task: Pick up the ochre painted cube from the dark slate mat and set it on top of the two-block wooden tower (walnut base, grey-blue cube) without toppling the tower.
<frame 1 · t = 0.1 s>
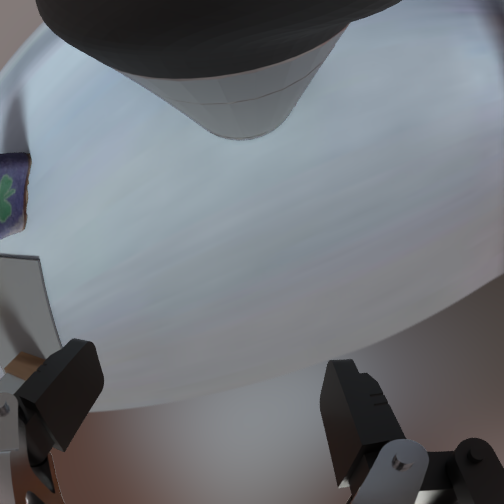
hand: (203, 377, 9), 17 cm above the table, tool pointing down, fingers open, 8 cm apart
tower mid: (23, 390, 26), point 5 cm above the table, touching tower base
slate mat: (16, 333, 29), on the table
flask: (22, 191, 24), on the table
tower base: (40, 371, 31), resting on slate mat, touching tower mid
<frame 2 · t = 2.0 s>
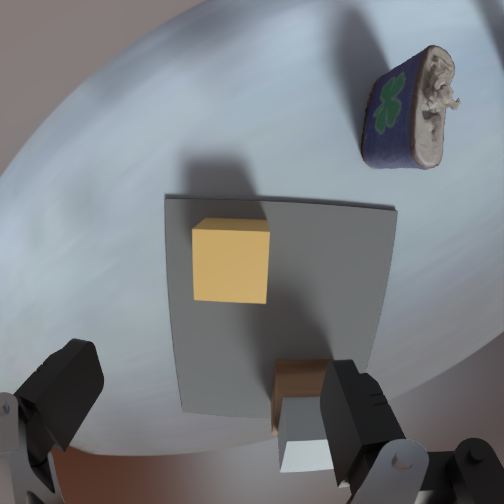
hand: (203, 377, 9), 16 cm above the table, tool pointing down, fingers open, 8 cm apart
tower mid: (307, 415, 22), point 5 cm above the table, touching tower base
slate mat: (277, 331, 26), on the table
flask: (379, 119, 21), on the table
tower base: (301, 381, 27), resting on slate mat, touching tower mid
ochre block: (235, 248, 24), resting on slate mat
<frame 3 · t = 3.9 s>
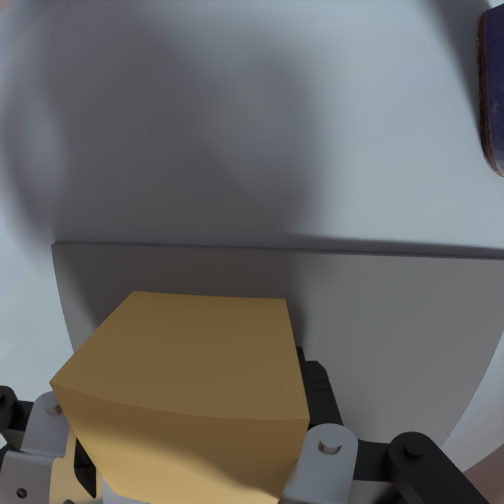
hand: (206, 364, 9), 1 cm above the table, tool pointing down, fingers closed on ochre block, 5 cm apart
slate mat: (293, 465, 12), on the table
flask: (495, 82, 7), on the table
ochre block: (208, 359, 10), resting on slate mat, touching gripper
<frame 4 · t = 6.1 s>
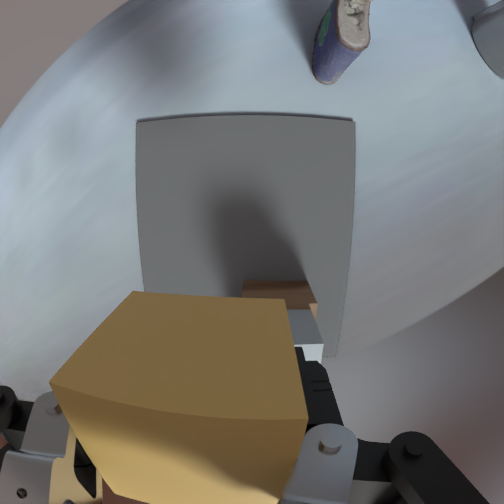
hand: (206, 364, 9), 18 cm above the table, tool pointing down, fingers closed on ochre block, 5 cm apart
tower mid: (277, 336, 23), point 5 cm above the table, touching tower base
slate mat: (243, 248, 26), on the table
flask: (328, 46, 21), on the table
tower base: (274, 309, 27), resting on slate mat, touching tower mid
ochre block: (207, 359, 10), point 17 cm above the table, touching gripper
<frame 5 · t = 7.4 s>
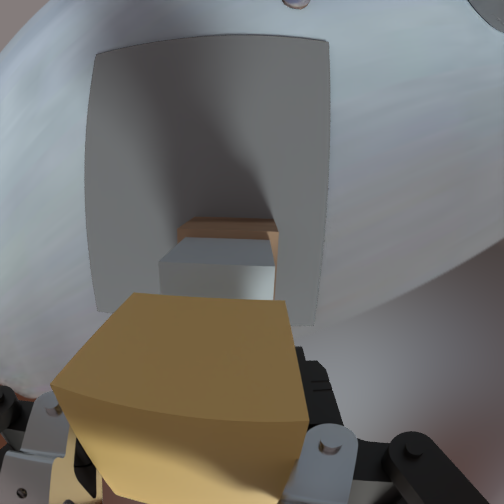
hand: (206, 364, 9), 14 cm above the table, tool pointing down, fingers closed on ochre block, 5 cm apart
tower mid: (226, 278, 17), point 5 cm above the table, touching tower base
slate mat: (196, 177, 21), on the table
tower base: (232, 256, 22), resting on slate mat, touching tower mid
ochre block: (208, 360, 10), point 14 cm above the table, touching gripper
when the fingers open (12 cm above the table, at t = 8.3 s): ochre block drops 1 cm, resting on tower mid.
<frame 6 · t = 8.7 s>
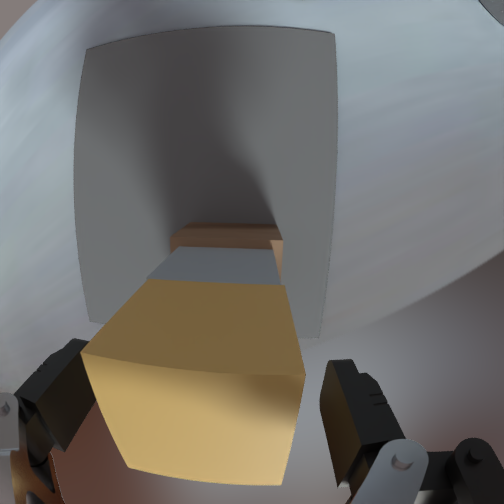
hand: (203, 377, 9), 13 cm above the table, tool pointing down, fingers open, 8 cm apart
tower mid: (225, 292, 16), point 5 cm above the table, touching ochre block, tower base
slate mat: (191, 179, 19), on the table
tower base: (232, 264, 20), resting on slate mat, touching tower mid
ochre block: (215, 341, 11), point 10 cm above the table, touching tower mid
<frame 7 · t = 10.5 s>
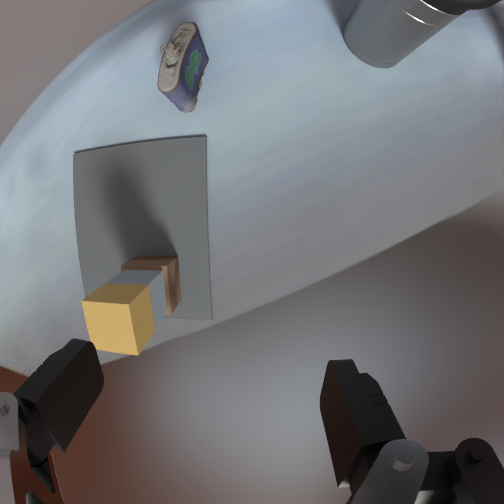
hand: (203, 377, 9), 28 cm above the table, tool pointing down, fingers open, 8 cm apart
tower mid: (145, 290, 32), point 5 cm above the table, touching ochre block, tower base
slate mat: (135, 233, 36), on the table
flask: (193, 81, 32), on the table
tower base: (158, 277, 37), resting on slate mat, touching tower mid
ochre block: (130, 306, 27), point 10 cm above the table, touching tower mid
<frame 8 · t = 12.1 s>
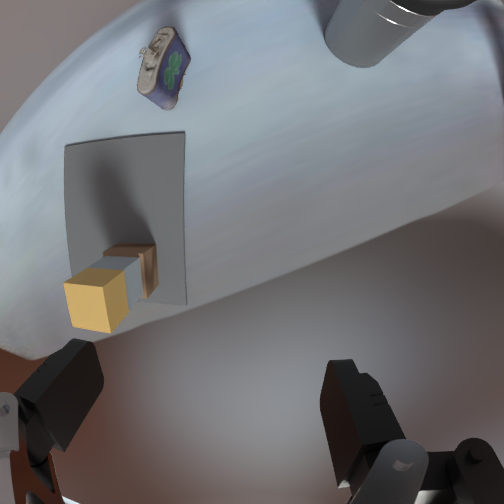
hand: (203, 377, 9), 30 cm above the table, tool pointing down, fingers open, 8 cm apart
tower mid: (124, 275, 34), point 5 cm above the table, touching ochre block, tower base
slate mat: (118, 222, 38), on the table
flask: (175, 80, 33), on the table
tower base: (138, 263, 39), resting on slate mat, touching tower mid
ochre block: (107, 289, 29), point 10 cm above the table, touching tower mid
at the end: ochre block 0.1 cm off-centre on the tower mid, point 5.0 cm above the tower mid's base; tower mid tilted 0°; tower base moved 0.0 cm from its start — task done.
